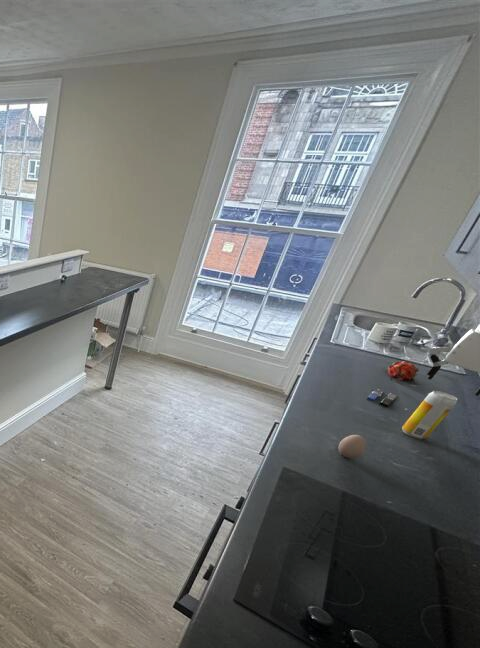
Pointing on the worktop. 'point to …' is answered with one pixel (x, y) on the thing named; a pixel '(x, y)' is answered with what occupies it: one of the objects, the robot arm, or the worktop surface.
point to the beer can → (429, 414)
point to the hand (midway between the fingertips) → (452, 386)
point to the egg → (352, 446)
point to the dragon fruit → (403, 371)
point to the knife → (388, 400)
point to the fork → (375, 395)
